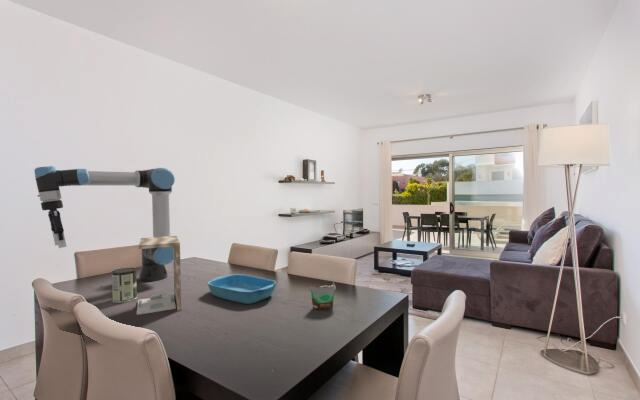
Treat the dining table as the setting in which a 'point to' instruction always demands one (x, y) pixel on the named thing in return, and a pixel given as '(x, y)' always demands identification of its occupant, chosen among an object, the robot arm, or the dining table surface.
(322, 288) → the food container
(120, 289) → the coffee can
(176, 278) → the shelf hood
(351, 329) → the dining table surface
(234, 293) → the casserole dish
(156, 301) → the seat plate
